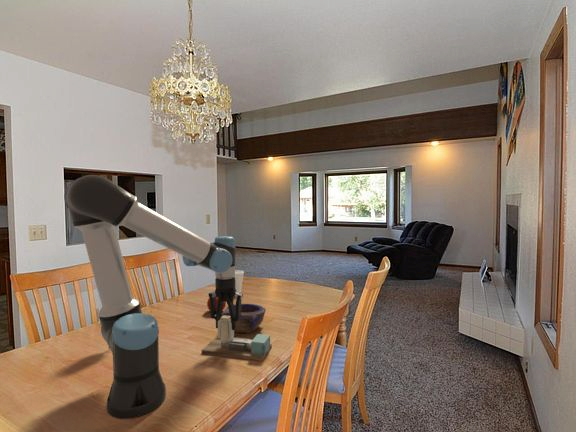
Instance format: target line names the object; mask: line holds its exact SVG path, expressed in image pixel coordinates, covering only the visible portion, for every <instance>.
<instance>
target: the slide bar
mask: <svg viewBox="0 0 576 432" xmlns="http://www.w3.org/2000/svg"><path fill="white" fill-rule="evenodd" d="M230 321H231V318H230V316H226V315H223V316H222V317H221V318H220V328H221V337H220V339H221V347H229V343H230V342H232V343H241V344H245V349H246V350H251V341H252V340H253V339H250V340H248V339H249V338H246V339H239V338H240V337H237V338H235V337H233V338H232V339H229V322H230Z"/></svg>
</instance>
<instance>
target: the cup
mask: <svg viewBox="0 0 576 432" xmlns="http://www.w3.org/2000/svg"><path fill="white" fill-rule="evenodd" d="M244 274H245V271H244V270H238V269H237V270H236V269H235V276H234V277H235V289H236V292H237V293H239V294H242V290H243V289H242V286H243V279H244V276H245V275H244Z"/></svg>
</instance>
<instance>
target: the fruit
mask: <svg viewBox="0 0 576 432" xmlns="http://www.w3.org/2000/svg"><path fill="white" fill-rule="evenodd" d="M206 304H207V305H206V306H207V309H208V310H209V311H210V312H211V309H210V298H208V299H207V302H206ZM226 305H227V302H225V301H224V303H223V308H222V311H224V310H225V309H226V307H227V306H226ZM217 306H218V297H217V295H216V312H217Z"/></svg>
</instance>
